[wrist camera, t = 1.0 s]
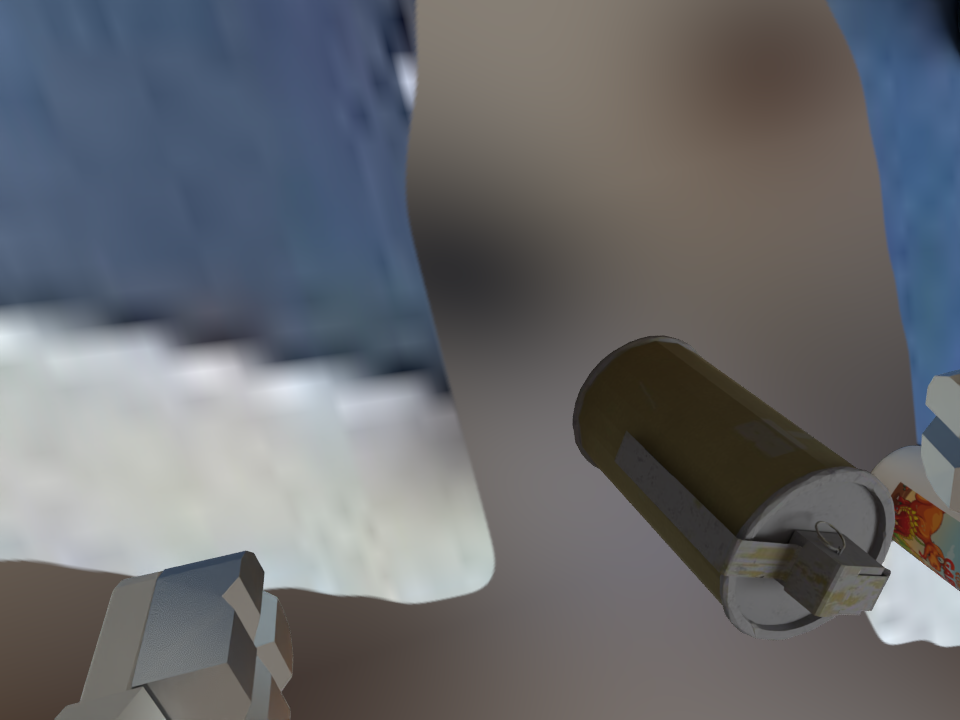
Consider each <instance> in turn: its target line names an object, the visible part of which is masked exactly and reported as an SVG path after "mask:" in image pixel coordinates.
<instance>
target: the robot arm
mask: <svg viewBox="0 0 960 720" xmlns="http://www.w3.org/2000/svg"><path fill="white" fill-rule="evenodd" d="M926 405H927V406H928V407H929V408H930V409H931V410H932V411H933V412H934V413H935V414H936V417H935V418H934V420H933V421H932V422H931V423H930V425H929V426H928V427H927V428H926V430H925V431H924V432H923V433H922V446H921V458H922V462H923V465H924V469H925V472H926V476H927V478H928V480H929V482H930V484H931V486H932V487H933V489H934V491H935V493H936V494H937V495H938V496H939V498H940V499H941V500H942V501H943V502H944V503H945V505H946V506H947V507H948V508H949V509H951V510H953V511H956V512H958V513H960V370H956V371H952V372H948V373H944V374H941V375H937V376H934V378H933V379H932V381H931V383H930V384H929V386H928V390H927V398H926ZM263 582H264V570H263V569H262V567H261V565H260V563H259V562H258V560H257V558H256V556H255V554H254V553H252V552H249V551H243V552H239V553H234V554H230V555H226V556H221V557H217V558H213V559H208V560H204V561H200V562H195V563H191V564H186V565H182V566H178V567H173V568H169V569H165V570H164V571H161V572H156V573H151V574H147V575H142V576H138V577H133V578H129V579H125V580H122V581H121V582H120V583H119V584H118V586H117V587H116V588H115V589H114V590H113V593H112V596H111V599H110V603H109V606H108V609H107V613H106V616H105V620H104V623H103V626H102V629H101V633H100V636H99V639H98V643H97V646H96V650H95V653H94V656H93V659H92V663H91V666H90V669H89V673H88V676H87V680H86V683H85V686H84V689H83V693H82V696H81V700H80V702H79V703H76V704H72V705H69V706H66V707H65V708H64V709H63V711H61V713H60V714H59V715H58V716H57V717H56V718H55V719H54V720H290V708H289V706H288V704H287V703H286V701H285V699H284V697H283V695H282V693H281V691H282V690H283V689H284V687H285V686H286V684H287V683H288V681H289V680H290V679H291V677H292V673H293V649H292V642H291V634H290V628H289V625H288V622H287V619H286V615H285V612H284V610H283V608H282V606H281V604H280V602H279V600H278V598H277V597H275V596H273V595H271V594H269V593H267V592H265V591H263Z"/></svg>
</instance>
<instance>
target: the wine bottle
mask: <svg viewBox="0 0 960 720" xmlns="http://www.w3.org/2000/svg"><path fill="white" fill-rule="evenodd" d="M958 25H959V33H960V0H959V7H958Z"/></svg>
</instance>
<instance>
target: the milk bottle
mask: <svg viewBox="0 0 960 720" xmlns="http://www.w3.org/2000/svg"><path fill="white" fill-rule="evenodd" d="M871 474H873V475H874V476H876V477H877V478H878V479H879V480H880V481H881V482H882V483H883V484H884V485H885V486H886V487H887V488H888V490H889V493H890V495H891V497H892V500H893V503H894V511H895V526H894V531H893V535H892V540H894V541H895V542H896V543H897V544H899V545H900V546H901V547H903V548H904V549H905V550H906V551H908V552H909V553H910V554H912V555H913V556H914V557H916V558H917V559H918V560H919V561H921V562H922V563H923V564H925V565H926V566H927V567H929V568H930V569H931V570H932V571H934V572H935V573H936V574H938V575H939V576H940V577H942V578H943V579H944V580H946V581H947V582H948V583H950V584H951V585H952V586H954V587H955V588H956V589H957V590H959V591H960V513H958V512H956V511H953V510H951V509H949V508H948V507H947V506H946V505H945V503H944V502H943V501H942V500H941V499H940V498H939V496H938V495H937V494H936V493H935V491H934V489H933V487H932V486H931V484H930V482H929V480H928V478H927V476H926V472H925V469H924V465H923V462H922V458H921V446H916V445H915V446H906V447H902V448H900V449H897V450H895V451H893V452H892V453H890V454H889V455H887V456H886V457H885V458H884V459H882V460H881V461H880V462H879V463H878V464H877V465H876V466H875V468H874V469H873V471H872V472H871Z"/></svg>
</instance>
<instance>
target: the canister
mask: <svg viewBox="0 0 960 720" xmlns="http://www.w3.org/2000/svg"><path fill="white" fill-rule="evenodd" d="M573 429H574V435H575V442H576V444H577V446H578V448H579V450H580V452H581V454H582V455H583V456H584V457H585V458H586V459H587V461H589V462H590V463H591V464H592V465H593V466H595V467H597V468H599V469H600V470H601V471H602V472H603V473H604V474H605V475H606V476H607V477H608V479H609V480H610V481H611V482H612V483H613V484H614V485H615V486H616V488H617V489H618V490H619V491H620V492H621V493H622V494H623V495H624V496H625V497H626V499H627V500H628V501H629V502H630V503H631V504H632V505H633V506H634V507H635V509H636V510H637V511H638V512H639V513H640V514H641V515H642V516H643V517H644V518H645V520H646V521H647V522H648V523H649V524H650V525H651V526H652V528H653V529H654V530H655V531H656V532H657V533H658V534H659V535H660V536H661V538H662V539H663V540H664V541H665V542H666V543H667V544H668V545H669V546H670V547H671V549H672V550H673V551H674V552H675V553H676V554H677V555H678V556H679V557H680V559H681V560H682V561H683V562H684V563H685V564H686V565H687V566H688V568H689V569H691V571H692V572H693V573H694V574H695V575H696V576H697V577H698V579H699V580H700V581H701V582H702V583H703V584H704V585H705V586H706V587H707V588H708V590H709V591H710V592H711V593H712V594H713V595H714V596H715V598H716V599H717V600H718V601H719V602H720V603H721V604H722V605H723V609H724V612H725V614H726V616H727V617H728V619H729V620H730V622H731V623H732V624H733V625H734V626H735V627H736V628H737V629H738V630H739V631H741V632H742V633H744V634H747V635H749V636H751V637H754V638H757V639H767V640H783V639H788V638H791V637H794V636H797V635H800V634H803V633H807V632H809V631H811V630H813V629H815V628H817V627H819V626H821V625H822V624H824V623H826V622H828V621H830V620H832V619H833V618H835V617H836V616H837V615H860V613H861V611H869V610H870V611H872V609H873V607H874V605H875V603H876V601H877V599H878V597H879V595H880V593H881V591H882V589H883V587H884V586H885V584H886V582H887V580H888V578H889V576H890V574H891V571H890V570H888V569H886V568H884V567H883V566H882V563H883V562H884V560H885V557H886V555H887V552H888V550H889V547H890V544H891V539H892V535H893V531H894V526H895V511H894V503H893V500H892V497H891V495H890V493H889V490H888V488H887V487H886V486H885V485H884V484H883V483H882V482H881V481H880V480H879V479H878V478H877V477H876V476H874V475H873V474H871V473H869V472H868V471H866V470H861V469H857V468H856V467H854V466H853V465H851V464H850V463H848V462H847V461H846V460H844V459H843V458H842V457H840V456H839V455H837V454H836V453H834V452H833V451H832V450H830V449H829V448H828V447H826V446H825V445H823V444H822V443H821V442H819V441H818V440H816V439H815V438H814V437H812V436H811V435H809V434H808V433H807V432H805V431H804V430H802V429H801V428H799V427H798V426H797V425H795V424H794V423H793V422H791V421H790V420H788V419H787V418H786V417H784V416H783V415H781V414H780V413H778V412H777V411H776V410H774V409H773V408H771V407H770V406H769V405H767V404H766V403H765V402H763V401H762V400H760V399H759V398H758V397H756V396H755V395H753V394H752V393H751V392H749V391H748V390H746V389H745V388H744V387H742V386H741V385H739V384H738V383H736V382H735V381H734V380H732V379H731V378H729V377H728V376H727V375H725V374H724V373H722V372H721V371H720V370H718V369H717V368H715V367H714V366H713V365H711V364H710V363H708V362H707V361H706V360H704V359H703V358H702V357H701V356H700V355H699V354H698V353H697V352H696V350H694V348H693V347H691V346H690V345H689V344H687V343H685V342H683V341H681V340H679V339H676V338H672V337H667V336H648V337H644V338H640V339H637V340H635V341H632V342H629V343H627V344H626V345H624V346H622V347H620V348H618V349H617V350H615V351H613V352H612V353H610V354H609V355H608V356H607V357H605V358H604V359H603V360H602V361H601V362H600V363H599V364H598V365H597V366H596V367H595V368H594V369H593V371H592V372H591V373H590V374H589V376H588V378H587V380H586V381H585V383H584V384H583V386H582V387H581V389H580V392H579V394H578V397H577V400H576V403H575V408H574V414H573Z"/></svg>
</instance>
